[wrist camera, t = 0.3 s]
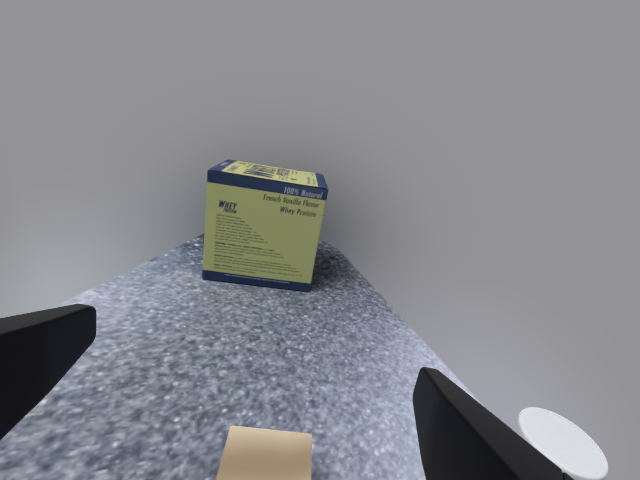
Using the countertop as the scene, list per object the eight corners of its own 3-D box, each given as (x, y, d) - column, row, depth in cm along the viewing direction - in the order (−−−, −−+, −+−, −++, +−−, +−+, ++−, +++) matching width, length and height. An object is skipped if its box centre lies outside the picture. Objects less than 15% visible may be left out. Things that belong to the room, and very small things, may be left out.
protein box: (311, 293, 45) (330, 187, 40) (200, 280, 44) (204, 167, 38) (309, 262, 55) (324, 173, 50) (218, 250, 53) (224, 157, 48)
